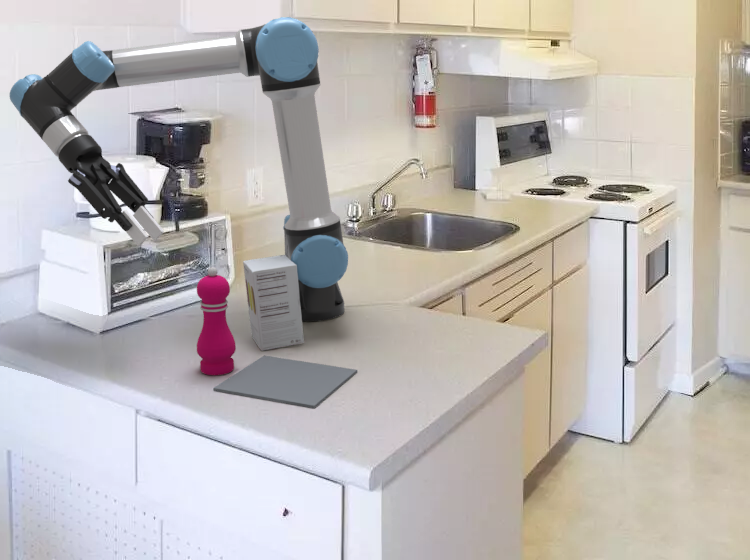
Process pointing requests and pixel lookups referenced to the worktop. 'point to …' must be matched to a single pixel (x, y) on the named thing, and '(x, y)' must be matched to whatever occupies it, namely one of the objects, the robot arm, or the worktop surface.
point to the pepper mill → (215, 326)
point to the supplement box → (273, 302)
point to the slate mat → (287, 381)
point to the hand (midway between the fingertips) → (151, 238)
